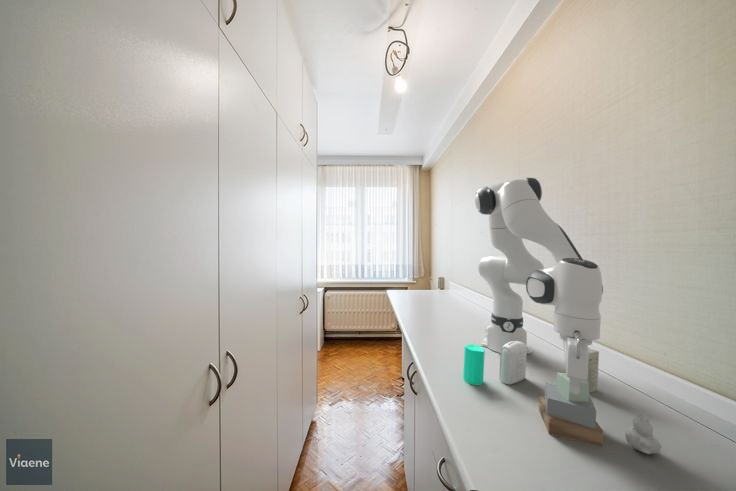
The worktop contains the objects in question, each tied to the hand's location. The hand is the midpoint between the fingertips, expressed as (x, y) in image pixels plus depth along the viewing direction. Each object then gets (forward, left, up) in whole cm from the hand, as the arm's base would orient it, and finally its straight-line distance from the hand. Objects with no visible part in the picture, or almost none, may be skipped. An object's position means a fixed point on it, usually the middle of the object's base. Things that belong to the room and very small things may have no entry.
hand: (573, 383), depth 67 cm
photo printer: (-21, -10, -11) cm, 26 cm away
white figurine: (+3, +12, -11) cm, 16 cm away
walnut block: (0, -1, -11) cm, 11 cm away
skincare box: (-24, +10, -11) cm, 28 cm away
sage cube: (0, 0, -3) cm, 3 cm away
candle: (-15, -22, -11) cm, 29 cm away
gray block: (0, -1, -7) cm, 7 cm away
